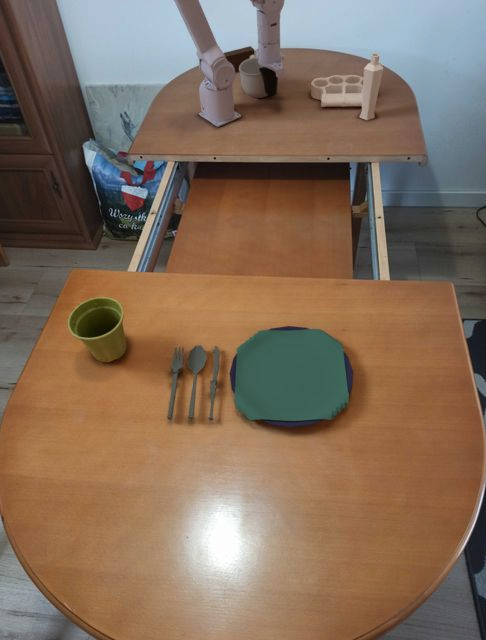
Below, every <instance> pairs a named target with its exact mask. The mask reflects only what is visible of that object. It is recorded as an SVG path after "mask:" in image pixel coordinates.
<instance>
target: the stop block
mask: <svg viewBox="0 0 486 640" xmlns="http://www.w3.org/2000/svg"><path fill="white" fill-rule="evenodd" d="M223 53H224V55H225V57H226V59H227V61H228V62H230V63H231V64H232V65H233V66H234V69H235V73H236V72H240V71H239V66H240V64H241V63H242V62H244V61H245V60H247V59H249V58H250V56H251V55H255V49H254V48H253V47H252V46H251V45H249V46H245V47H241V48H237V49H233V50H230V51H225V52H223Z"/></svg>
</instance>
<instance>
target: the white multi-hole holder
mask: <svg viewBox="0 0 486 640" xmlns="http://www.w3.org/2000/svg"><path fill="white" fill-rule="evenodd" d="M363 80H364V76H361V75H358V74H357V75H356V74H347V75H346V74H345V75H341V74H336V75H331V76H328V77H316V78H314V79H313V80H312V81H311V83H310V96H311V98H313V99H315V100H319V101H320V107H322V108H325V107H342V108H345V107H361V108H362V98H363Z"/></svg>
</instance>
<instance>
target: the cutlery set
mask: <svg viewBox="0 0 486 640" xmlns="http://www.w3.org/2000/svg"><path fill="white" fill-rule="evenodd" d="M184 349H185V348H184V346H182V347H181V346H179V347H177V346H175V347H174V353H173V357H172V361H171V365H170V371H171V372H172V374H173V375H172V382H171V383H172V384H171V389H170V397H169V403H168V409H167V415H166V419H167V420H169V421H170V420H171V421H172V420H173V413H174V405H175V399H176V393H177V384H178V376H180V373H181V372H182V371H184V368H183V367H184V366H183V365H184V351H185V350H184ZM186 361H187V367H188V368H189V369H190V371H191V373H193V381H192V386H191V394H190V400H189V406H188V407H189V409H188V415H187V419H189V420H193V419H194V416H195V403H196V390H197V389H196V388H197V378H198V374H199V372H201V371H202V370H203V369H204V368H205V365H206V362H207V351H206V349H205V348H204V347H203V346H202V345H194V347H193V348H192V349H191V350H190V351H189V353H188V356H187V360H186ZM219 366H220V349H219V347H218V346H217V345H214V355H213V367H212V379H211V380H209V383H210V386H209V388H210V409H209V417H208V421H214V403H215V395H216V392H217V385H218V380H217V378H218V374H219V368H220V367H219ZM353 379H354V371H353V368H352V364H351V361H350V359H349V356H348V354H347V353H346V352H345V351H344V345H343V343H342V342H341V341H340V340H338V339H336V338H335V337H334V336H332V335H331V334H329V333H328V332H327V331H325V330H323V329H320V328H309V327H304V326H295V325H294V326H292V325H285V326H278V327H271V328H269V329H261V330H258V331H256V333H253V335H252V336H250V337H249V338H248V339H247V340H245V341H244V342H243V343H241V344H240V345H239V346H237V348H236V354H235V355H234V356H233V358H232V362H231V366H230V370H229V380H230V386H231V391H232V393H233V394H234V405H235V408H236V409H237V411H239V412H240V413H241V414H243V415H244V417H246V418H247V419H248V420H249V421H255V420H256V421H257V420H260V421H261V422H265V423H266V424H268V425H271V426H275V427H283V428H290V429H295V428H296V429H297V428H302V427H309V426H314V425H316V424H319V423H321V422H322V421H325V420H329V421H332V420H334V419H335V418H336V416H338V415H339V414H340V412H342V411H343V410H344V409H346V408H347V407H348V406H349V401H350V394H351V392H352V389H353V381H354V380H353Z"/></svg>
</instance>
